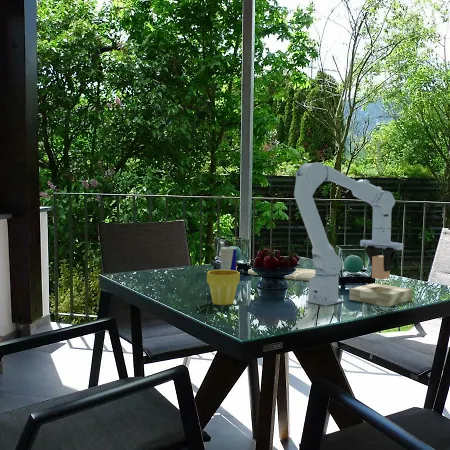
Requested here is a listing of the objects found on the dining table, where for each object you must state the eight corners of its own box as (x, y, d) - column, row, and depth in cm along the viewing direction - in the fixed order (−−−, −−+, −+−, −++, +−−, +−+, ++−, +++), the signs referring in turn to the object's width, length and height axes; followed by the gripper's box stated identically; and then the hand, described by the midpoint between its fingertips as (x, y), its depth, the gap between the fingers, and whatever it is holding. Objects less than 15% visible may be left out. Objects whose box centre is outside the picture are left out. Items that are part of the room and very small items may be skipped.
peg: (382, 279, 178) (383, 257, 177) (371, 277, 180) (372, 256, 180) (389, 278, 180) (390, 256, 180) (378, 276, 183) (379, 255, 183)
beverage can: (235, 291, 193) (235, 248, 192) (219, 291, 194) (219, 248, 193) (237, 288, 198) (237, 246, 197) (222, 288, 200) (222, 246, 198)
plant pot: (245, 304, 174) (245, 273, 173) (216, 308, 169) (216, 276, 168) (230, 298, 183) (229, 268, 182) (201, 301, 178) (201, 270, 177)
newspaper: (231, 274, 231) (231, 267, 230) (255, 268, 247) (255, 261, 246) (313, 283, 210) (313, 276, 210) (333, 276, 226) (333, 269, 226)
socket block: (387, 306, 170) (388, 295, 169) (349, 299, 180) (349, 288, 180) (411, 299, 179) (412, 289, 179) (374, 293, 189) (374, 283, 189)
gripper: (408, 228, 176) (407, 271, 177) (369, 226, 187) (368, 266, 188) (396, 230, 172) (395, 274, 173) (356, 227, 182) (356, 268, 183)
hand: (380, 270), depth 180 cm, fingers closed on peg, 4 cm apart
